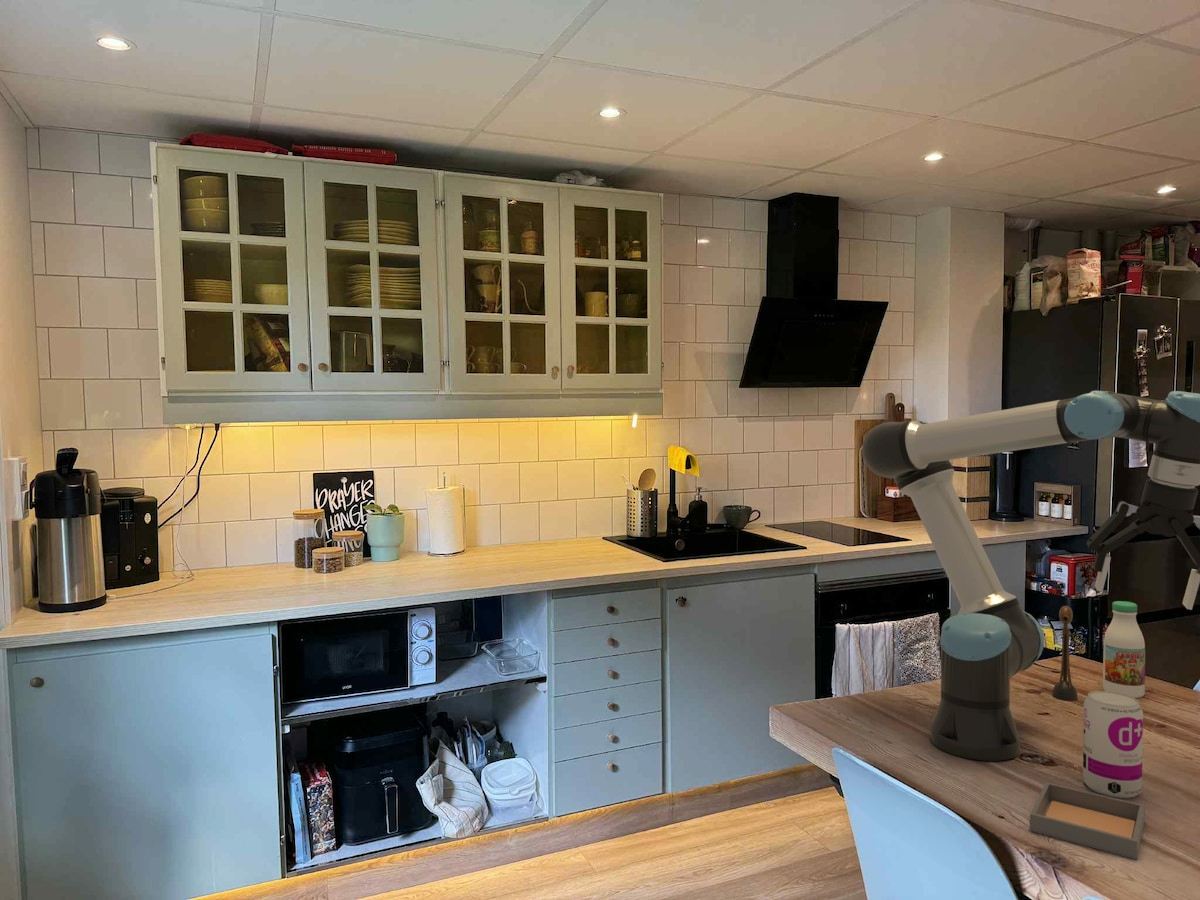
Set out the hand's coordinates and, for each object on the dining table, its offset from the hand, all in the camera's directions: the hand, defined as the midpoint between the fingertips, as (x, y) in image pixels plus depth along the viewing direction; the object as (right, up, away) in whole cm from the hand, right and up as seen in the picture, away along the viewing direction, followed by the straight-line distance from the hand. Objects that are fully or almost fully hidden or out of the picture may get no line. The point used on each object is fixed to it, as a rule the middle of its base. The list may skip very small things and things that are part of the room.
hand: (1141, 597), depth 144 cm
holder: (-23, -30, -23) cm, 44 cm away
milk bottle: (+19, -28, +35) cm, 48 cm away
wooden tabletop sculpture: (+5, -28, +32) cm, 43 cm away
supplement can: (-12, -30, -11) cm, 34 cm away
